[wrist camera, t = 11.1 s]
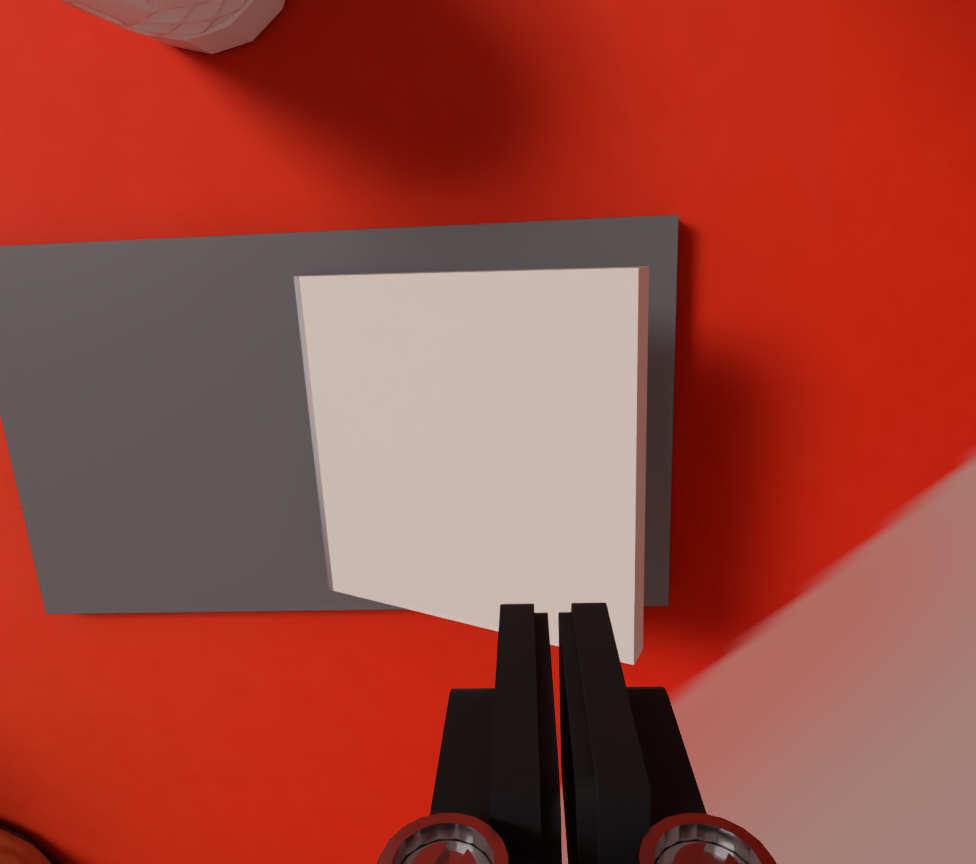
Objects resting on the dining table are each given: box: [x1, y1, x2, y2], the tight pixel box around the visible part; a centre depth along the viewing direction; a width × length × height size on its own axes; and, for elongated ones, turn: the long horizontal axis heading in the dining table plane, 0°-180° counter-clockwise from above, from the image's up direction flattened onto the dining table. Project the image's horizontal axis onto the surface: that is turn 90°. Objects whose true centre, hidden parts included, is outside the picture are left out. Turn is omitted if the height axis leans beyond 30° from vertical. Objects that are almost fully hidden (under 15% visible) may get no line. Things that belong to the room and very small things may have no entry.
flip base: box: [0, 215, 678, 614], centre depth 27 cm, size 26×15×1 cm, turn 92°
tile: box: [293, 266, 649, 665], centre depth 23 cm, size 13×12×1 cm
